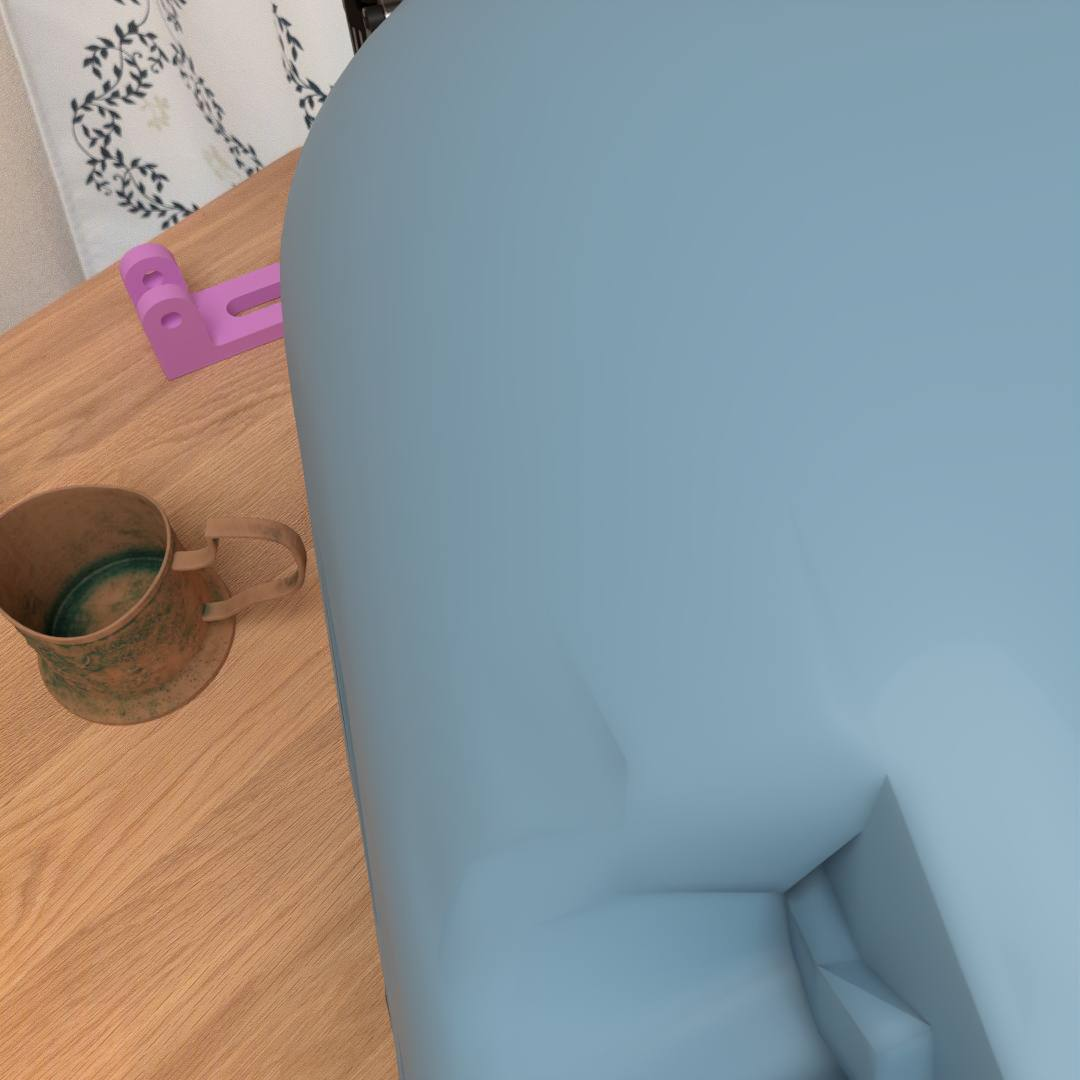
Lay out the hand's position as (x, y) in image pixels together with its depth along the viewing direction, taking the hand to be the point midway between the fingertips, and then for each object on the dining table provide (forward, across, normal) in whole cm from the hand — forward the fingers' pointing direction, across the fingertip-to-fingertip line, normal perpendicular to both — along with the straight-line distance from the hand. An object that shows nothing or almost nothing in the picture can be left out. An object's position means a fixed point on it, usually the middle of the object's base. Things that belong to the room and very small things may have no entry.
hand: (412, 214), depth 66 cm
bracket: (+15, +9, +12) cm, 21 cm away
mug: (+15, -15, +19) cm, 28 cm away
